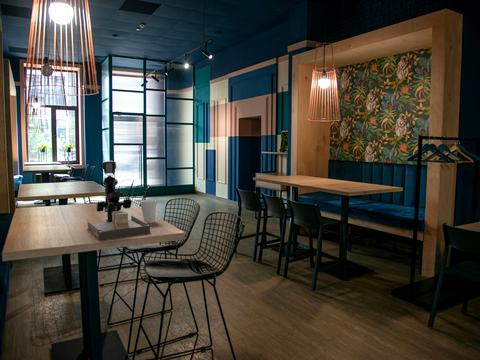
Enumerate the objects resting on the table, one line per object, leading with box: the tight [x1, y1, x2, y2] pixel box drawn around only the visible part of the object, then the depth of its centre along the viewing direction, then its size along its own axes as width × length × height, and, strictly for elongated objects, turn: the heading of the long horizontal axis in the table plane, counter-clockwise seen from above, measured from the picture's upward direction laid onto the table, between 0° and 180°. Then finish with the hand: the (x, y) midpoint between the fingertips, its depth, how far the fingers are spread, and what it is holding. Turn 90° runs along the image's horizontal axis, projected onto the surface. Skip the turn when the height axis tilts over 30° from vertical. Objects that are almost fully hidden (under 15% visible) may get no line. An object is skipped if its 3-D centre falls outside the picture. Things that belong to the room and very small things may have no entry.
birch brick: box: [112, 210, 129, 230], centre depth 214 cm, size 10×6×9 cm, turn 31°
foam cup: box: [140, 199, 158, 224], centre depth 240 cm, size 10×9×13 cm
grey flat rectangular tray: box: [87, 215, 151, 241], centre depth 219 cm, size 33×26×4 cm
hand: (117, 217), depth 218 cm, fingers closed
